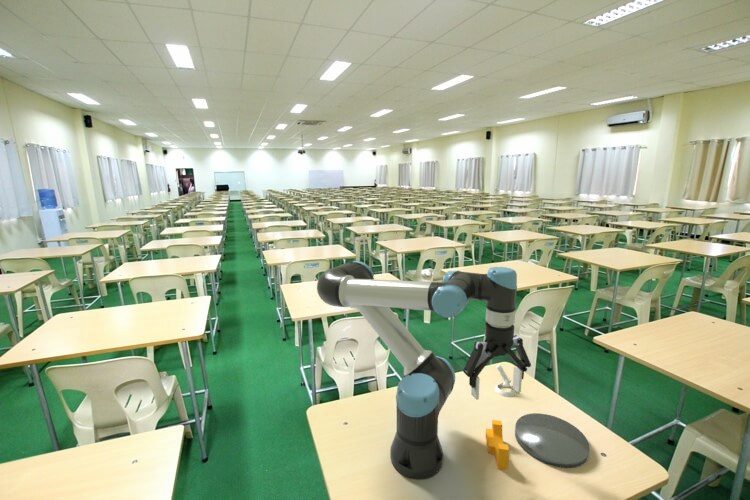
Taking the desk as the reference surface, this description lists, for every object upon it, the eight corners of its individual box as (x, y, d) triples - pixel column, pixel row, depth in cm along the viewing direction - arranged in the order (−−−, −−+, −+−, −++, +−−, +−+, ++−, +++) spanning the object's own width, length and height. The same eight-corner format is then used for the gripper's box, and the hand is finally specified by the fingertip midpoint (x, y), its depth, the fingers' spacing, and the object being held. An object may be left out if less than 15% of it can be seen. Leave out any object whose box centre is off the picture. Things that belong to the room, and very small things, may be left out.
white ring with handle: (484, 368, 137) (500, 360, 135) (501, 396, 135) (517, 389, 133) (483, 373, 131) (499, 365, 128) (500, 403, 128) (518, 396, 126)
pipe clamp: (485, 437, 107) (486, 419, 106) (500, 439, 106) (501, 420, 105) (491, 468, 95) (492, 447, 94) (507, 470, 94) (508, 449, 93)
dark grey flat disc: (544, 474, 93) (544, 466, 92) (502, 425, 112) (502, 418, 112) (605, 461, 97) (606, 453, 96) (555, 416, 116) (555, 409, 116)
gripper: (465, 333, 88) (463, 408, 91) (547, 323, 94) (542, 393, 97) (452, 323, 95) (450, 392, 99) (529, 313, 101) (524, 379, 105)
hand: (496, 393), depth 98 cm, fingers open, 13 cm apart
